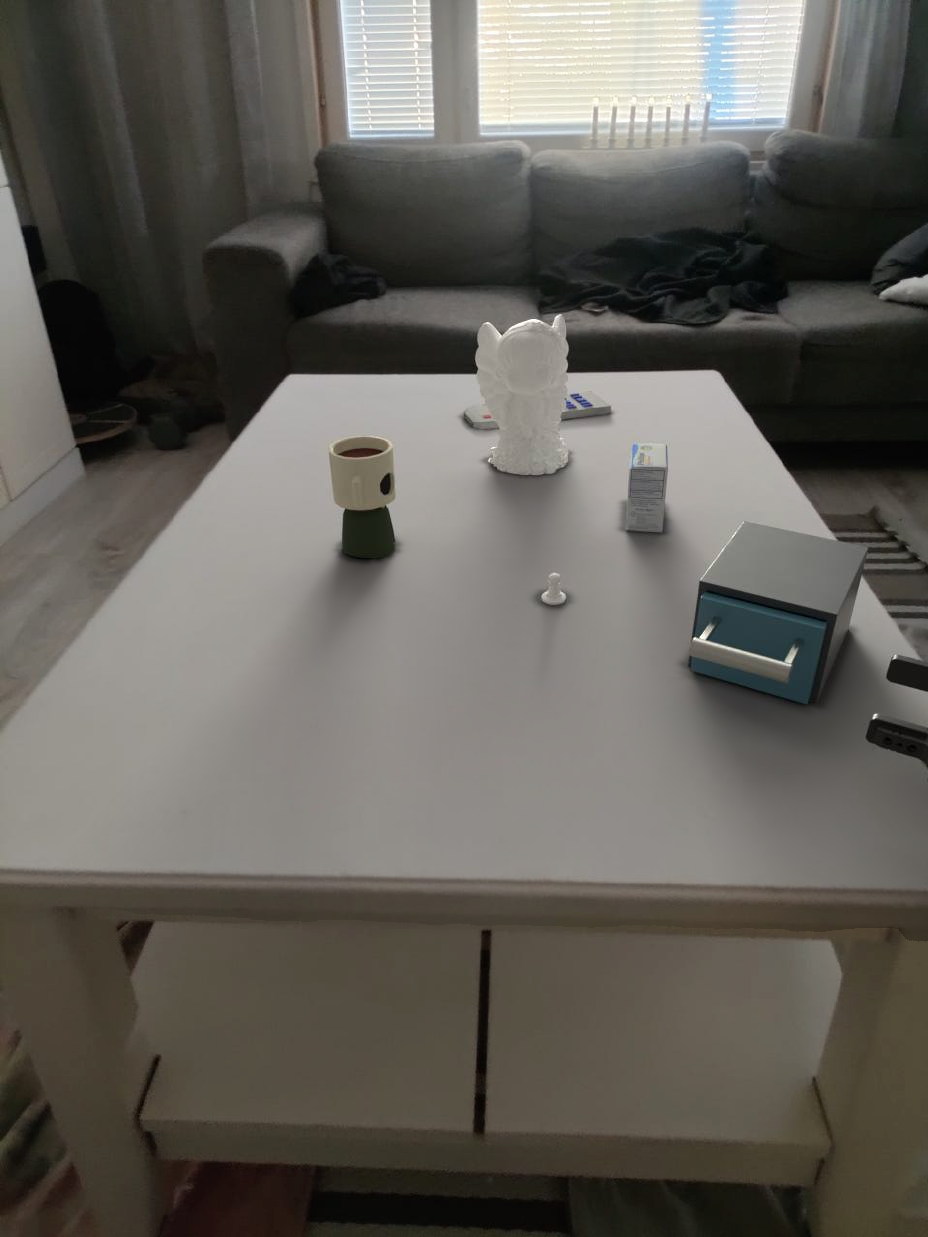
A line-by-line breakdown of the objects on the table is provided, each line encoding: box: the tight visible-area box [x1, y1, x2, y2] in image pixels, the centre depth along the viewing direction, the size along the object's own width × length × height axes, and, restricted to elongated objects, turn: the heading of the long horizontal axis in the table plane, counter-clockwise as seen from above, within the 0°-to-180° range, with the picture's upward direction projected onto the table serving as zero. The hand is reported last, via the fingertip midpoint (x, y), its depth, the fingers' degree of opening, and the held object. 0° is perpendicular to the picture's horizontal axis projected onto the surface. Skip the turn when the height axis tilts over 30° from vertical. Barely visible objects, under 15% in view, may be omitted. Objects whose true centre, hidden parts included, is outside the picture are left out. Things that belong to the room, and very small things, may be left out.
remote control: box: [463, 390, 612, 430], centre depth 142 cm, size 8×23×2 cm, turn 107°
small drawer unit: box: [687, 520, 869, 704], centre depth 82 cm, size 14×12×10 cm
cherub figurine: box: [474, 314, 570, 476], centre depth 121 cm, size 13×12×20 cm
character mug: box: [328, 435, 397, 560], centre depth 101 cm, size 11×7×13 cm, turn 178°
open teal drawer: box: [688, 592, 827, 705], centre depth 79 cm, size 18×10×8 cm, turn 149°
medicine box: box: [625, 442, 669, 533], centre depth 107 cm, size 8×4×9 cm, turn 170°
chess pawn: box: [541, 572, 567, 606], centre depth 92 cm, size 3×3×4 cm
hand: (879, 695), depth 67 cm, fingers open, 8 cm apart
